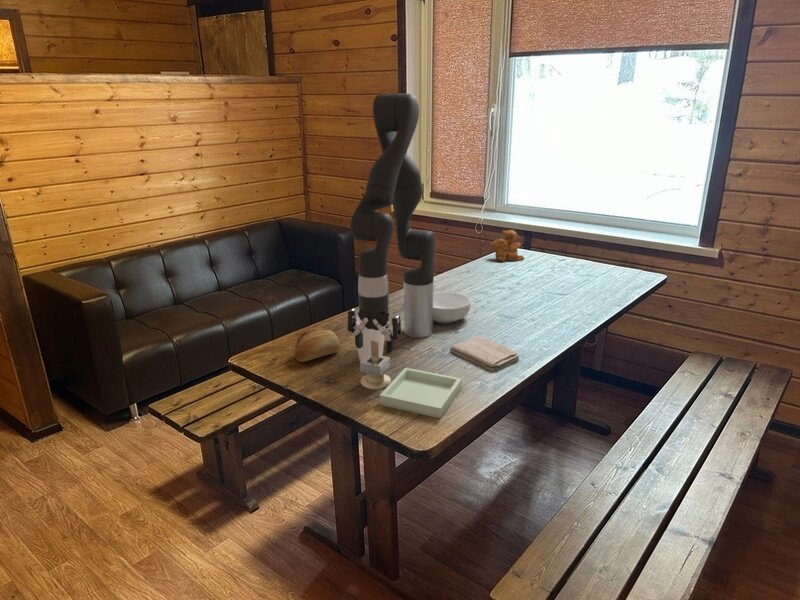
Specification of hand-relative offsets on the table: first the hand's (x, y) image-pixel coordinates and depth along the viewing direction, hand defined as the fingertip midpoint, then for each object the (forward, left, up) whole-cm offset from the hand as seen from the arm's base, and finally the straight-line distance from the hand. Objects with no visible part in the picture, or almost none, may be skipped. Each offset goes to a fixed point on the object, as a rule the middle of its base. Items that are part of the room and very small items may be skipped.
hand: (374, 350), depth 151 cm
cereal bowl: (-49, +2, -10) cm, 50 cm away
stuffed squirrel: (-126, +4, -10) cm, 126 cm away
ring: (0, 0, -6) cm, 6 cm away
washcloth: (-27, +22, -10) cm, 36 cm away
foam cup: (-11, -7, -10) cm, 16 cm away
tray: (+2, +14, -10) cm, 17 cm away
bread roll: (-8, -23, -10) cm, 26 cm away
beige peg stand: (0, 0, -10) cm, 10 cm away
